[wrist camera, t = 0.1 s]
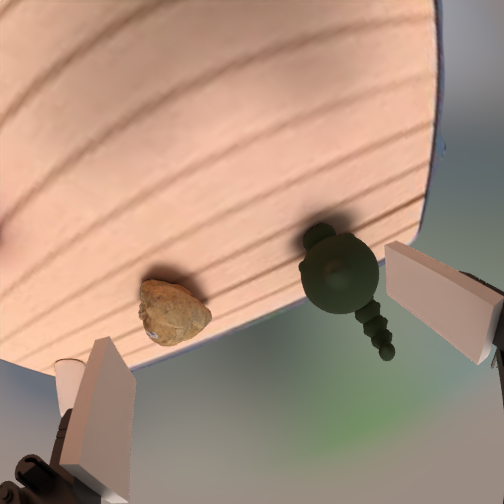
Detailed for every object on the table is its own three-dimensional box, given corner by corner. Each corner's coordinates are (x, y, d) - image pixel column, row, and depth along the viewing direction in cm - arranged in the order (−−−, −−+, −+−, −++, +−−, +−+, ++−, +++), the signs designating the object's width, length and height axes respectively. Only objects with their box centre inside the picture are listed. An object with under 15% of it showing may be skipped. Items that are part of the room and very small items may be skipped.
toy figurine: (364, 250, 51) (332, 182, 30) (415, 343, 42) (431, 347, 21) (320, 277, 53) (258, 230, 32) (367, 371, 44) (337, 398, 23)
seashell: (230, 287, 41) (248, 338, 37) (191, 313, 44) (204, 361, 40) (153, 257, 31) (166, 324, 27) (114, 292, 34) (122, 353, 29)
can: (68, 356, 44) (77, 419, 37) (90, 363, 49) (100, 422, 43) (48, 363, 44) (55, 422, 37) (70, 370, 49) (78, 425, 43)
